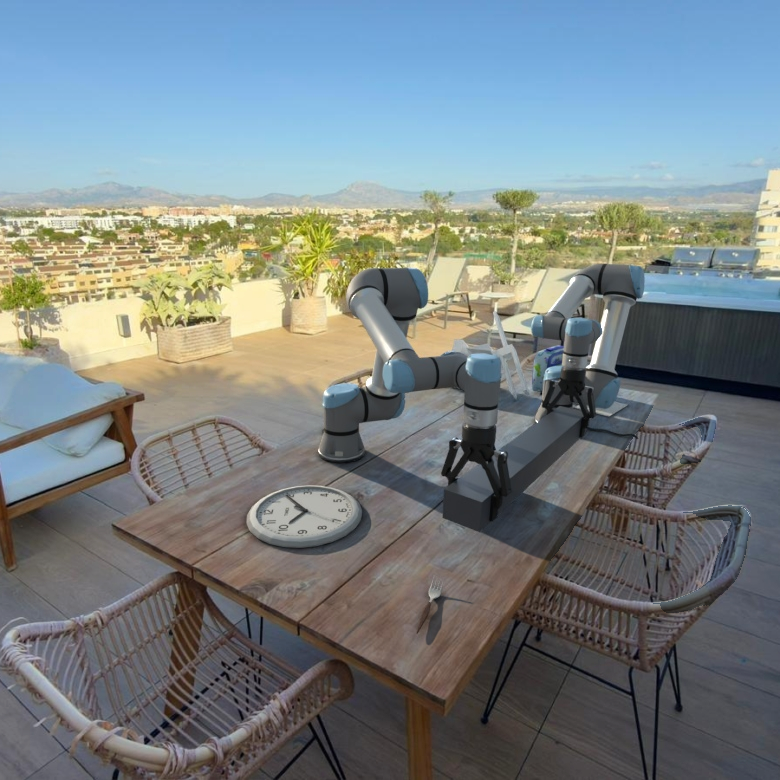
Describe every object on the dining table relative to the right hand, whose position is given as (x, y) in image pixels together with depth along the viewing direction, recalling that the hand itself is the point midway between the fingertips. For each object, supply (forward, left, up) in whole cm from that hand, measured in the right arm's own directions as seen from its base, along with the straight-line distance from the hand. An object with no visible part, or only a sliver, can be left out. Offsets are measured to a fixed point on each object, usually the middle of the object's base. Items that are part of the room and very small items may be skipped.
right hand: (565, 432), depth 173 cm
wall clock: (+75, +48, -9) cm, 90 cm away
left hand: (+32, +56, 0) cm, 64 cm away
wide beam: (+16, +28, -1) cm, 32 cm away
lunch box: (-10, -78, -9) cm, 79 cm away
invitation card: (-27, -57, -9) cm, 63 cm away
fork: (+41, +79, -9) cm, 90 cm away
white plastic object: (+25, -69, -9) cm, 74 cm away
